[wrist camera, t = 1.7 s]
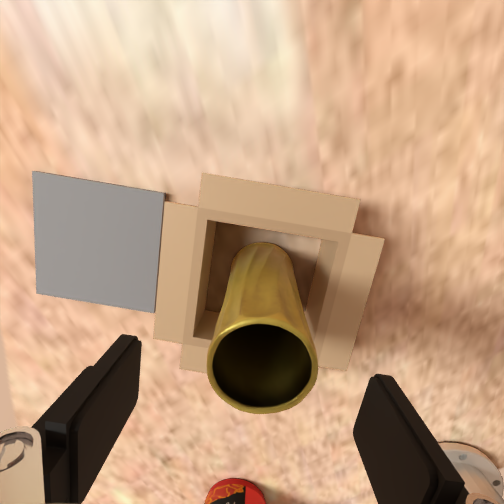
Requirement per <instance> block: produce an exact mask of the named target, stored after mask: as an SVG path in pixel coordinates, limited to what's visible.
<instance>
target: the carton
mask: <svg viewBox="0 0 504 504" xmlns="http://www.w3.org/2000/svg"><path fill="white" fill-rule="evenodd" d="M359 204H360V199H354V198H349V197H343V196H337V195H331V194H325V193H319V192H313V191H307V190H302V189H296V188H290V187H284V186H278V185H272V184H266V183H260V182H254V181H249V180H243V179H237V178H231V177H225V176H219V175H213V174H207V173H202V176H201V185H200V194H199V203H198V207H197V206H192V205H186V204H180V203H174V202H168V201H165V204H164V216H163V228H162V240H161V252H160V264H159V276H158V288H157V300H156V312H155V323H154V335H153V339H157V340H162V341H168V342H174V343H180V344H182V351H181V360H180V369H183V370H189V371H195V372H201V373H207V353H208V348H209V346H210V343H211V341H212V339H213V336H214V332H215V327H216V323H217V320H218V317H219V314H220V313H218V312H212V311H206V310H205V307H206V299H207V292H208V284H209V277H210V269H211V262H212V254H213V247H214V239H215V232H216V224H217V221H218V222H224V223H230V224H236V225H242V226H248V227H254V228H260V229H265V230H271V231H277V232H283V233H289V234H295V235H301V236H307V237H313V238H319V239H322V241H321V246H320V250H319V254H318V259H317V263H316V267H315V271H314V276H313V280H312V284H311V289H310V293H309V297H308V301H307V306H306V310H305V317H306V320H307V324H308V327H309V330H310V333H311V336H312V340H313V342H314V345H315V348H316V353H317V359H318V367H324V368H330V369H336V370H341V371H347V368H348V364H349V361H350V357H351V354H352V350H353V347H354V344H355V340H356V337H357V333H358V330H359V326H360V323H361V320H362V316H363V313H364V309H365V306H366V302H367V299H368V296H369V292H370V289H371V285H372V282H373V278H374V275H375V272H376V268H377V265H378V261H379V258H380V255H381V251H382V248H383V244H384V241H385V239H384V238H380V237H374V236H368V235H363V234H357V233H352V231H353V227H354V223H355V220H356V216H357V212H358V208H359Z"/></svg>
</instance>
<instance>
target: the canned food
mask: <svg viewBox="0 0 504 504" xmlns="http://www.w3.org/2000/svg"><path fill="white" fill-rule="evenodd" d="M204 504H266V502H265V499H264V496H263V494H262V492H261V491H260V490H259V489H258V488H257V487H256V486H255V485H253V484H252V483H250V482H248V481H245V480H242V479H236V478H235V479H225V480H222V481H220V482H218V483H216V484H215V485H214V486H213V487H212V488H211V489H210V491H209V493H208V495H207V497H206V500H205V503H204Z"/></svg>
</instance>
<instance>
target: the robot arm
mask: <svg viewBox="0 0 504 504" xmlns="http://www.w3.org/2000/svg"><path fill="white" fill-rule="evenodd" d="M141 346H142V342H141V341H139V340H138V338H137V336H132V335H125V334H122V335H121V336H120V337H119V338H118V339H117V340H116V341H115V342H114V343H113V344H112V346H111V347H110V348H109V349H108V350H107V351H106V352H105V354H104V355H103V356H102V357H101V358H100V359H99V360H98V361H97V363H96V364H95V365H94V366H88V367H87V368H86V369H84V370H83V371H82V373H81V374H80V375H79V376H78V377H77V378H76V379H75V380H74V381H73V382H72V383H71V385H70V386H69V387H68V388H67V389H66V390H65V391H64V392H63V393H62V394H61V396H60V397H59V398H58V399H57V400H56V401H55V402H54V403H53V404H52V405H51V406H50V408H49V409H48V410H47V411H46V412H45V413H44V414H43V415H42V416H41V417H40V418H39V420H38V421H37V422H36V423H35V424H34V425H33V426H32V427H15V428H12V429H8V430H5V431H3V432H0V504H81V503H82V502H83V501H84V499H85V497H86V495H87V494H88V492H89V490H90V488H91V486H92V484H93V482H94V481H95V479H96V477H97V475H98V473H99V471H100V470H101V468H102V466H103V464H104V462H105V460H106V459H107V457H108V455H109V453H110V451H111V449H112V448H113V446H114V444H115V442H116V440H117V438H118V436H119V435H120V433H121V431H122V429H123V427H124V425H125V424H126V422H127V420H128V418H129V416H130V414H131V413H132V411H133V409H134V407H135V405H136V402H137V399H138V392H139V376H140V361H141ZM353 436H354V440H355V443H356V445H357V448H358V451H359V453H360V456H361V459H362V461H363V464H364V467H365V470H366V472H367V475H368V478H369V480H370V483H371V486H372V488H373V491H374V494H375V496H376V499H377V502H378V504H504V500H503V498H502V495H503V489H504V485H503V478H502V476H501V474H500V471H499V470H498V469H497V467H496V466H495V465H494V464H493V462H492V461H491V460H490V459H489V458H488V457H487V456H486V455H485V454H484V453H482V452H481V451H479V450H478V449H476V448H473V447H470V446H468V445H464V444H459V443H446V442H445V443H438V442H437V441H436V439H435V438H434V436H433V435H432V434H431V432H430V431H429V429H428V428H427V426H426V425H425V423H424V422H423V420H422V419H421V417H420V416H419V415H418V413H417V412H416V410H415V409H414V407H413V406H412V404H411V403H410V401H409V400H408V398H407V397H406V396H405V394H404V393H403V391H402V390H401V388H400V387H399V385H398V384H397V382H396V381H395V380H394V378H393V377H392V376H389V375H382V374H375V375H374V377H371V378H370V380H369V383H368V386H367V389H366V392H365V395H364V398H363V401H362V404H361V407H360V410H359V413H358V416H357V419H356V422H355V425H354V428H353Z"/></svg>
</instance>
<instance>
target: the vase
mask: <svg viewBox="0 0 504 504" xmlns="http://www.w3.org/2000/svg"><path fill="white" fill-rule="evenodd" d="M317 374H318V359H317V353H316V348H315V345H314V342H313V340H312V336H311V333H310V330H309V327H308V324H307V320H306V317H305V314H304V311H303V307H302V304H301V300H300V296H299V292H298V288H297V284H296V279H295V275H294V271H293V264H292V262H291V260H290V258H289V256H288V254H287V253H286V252H285V251H284V250H282V249H281V248H280V247H278V246H277V245H274V244H271V243H265V242H260V243H253V244H250V245H248V246H246V247H244V248H242V249H241V250H240V251H239V252H238V253H237V254H236V256H235V257H234V259H233V261H232V264H231V269H230V277H229V281H228V285H227V290H226V294H225V299H224V303H223V306H222V309H221V312H220V314H219V317H218V320H217V323H216V327H215V332H214V336H213V339H212V341H211V343H210V346H209V348H208V353H207V375H208V379H209V382H210V384H211V386H212V388H213V389H214V391H215V392H216V393H217V395H218V396H219V397H220V398H221V399H223V400H224V401H225V402H227V403H228V404H230V405H231V406H233V407H234V408H236V409H238V410H241V411H244V412H248V413H254V414H268V413H277V412H281V411H284V410H287V409H290V408H292V407H293V406H295V405H297V404H298V403H300V402H301V401H302V400H303V399H304V398H305V397H306V396H307V394H308V393H309V392H310V391H311V389H312V388H313V386H314V385H315V382H316V379H317Z"/></svg>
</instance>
